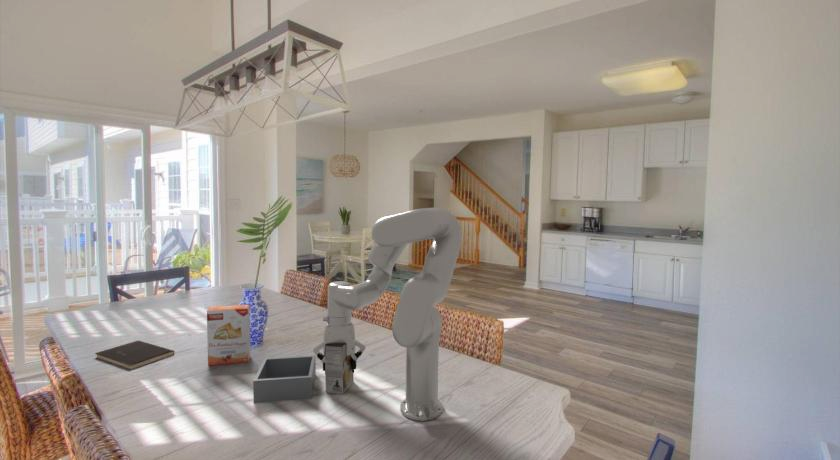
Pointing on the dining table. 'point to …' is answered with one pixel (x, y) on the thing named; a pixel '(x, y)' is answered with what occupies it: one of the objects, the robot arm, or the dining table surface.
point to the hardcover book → (134, 354)
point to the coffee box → (337, 368)
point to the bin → (285, 379)
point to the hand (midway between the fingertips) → (339, 371)
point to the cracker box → (228, 334)
